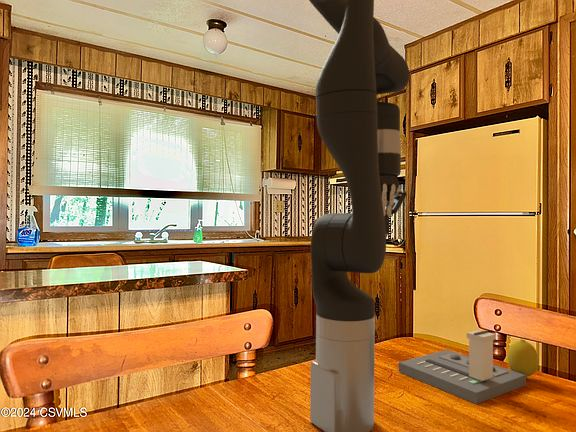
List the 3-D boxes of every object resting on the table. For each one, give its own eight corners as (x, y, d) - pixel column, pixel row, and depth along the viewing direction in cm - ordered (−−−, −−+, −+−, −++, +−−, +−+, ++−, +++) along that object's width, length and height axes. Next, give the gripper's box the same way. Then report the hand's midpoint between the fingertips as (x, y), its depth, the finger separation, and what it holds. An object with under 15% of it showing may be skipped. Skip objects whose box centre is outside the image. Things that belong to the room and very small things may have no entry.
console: (476, 404, 74) (476, 389, 74) (398, 371, 89) (398, 359, 89) (525, 385, 83) (525, 371, 83) (447, 358, 98) (447, 347, 98)
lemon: (545, 383, 84) (544, 342, 84) (519, 385, 83) (518, 344, 83) (526, 373, 89) (525, 334, 89) (501, 374, 88) (501, 336, 88)
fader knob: (482, 382, 77) (483, 335, 77) (466, 375, 80) (466, 331, 80) (495, 377, 80) (495, 332, 80) (478, 372, 82) (479, 328, 82)
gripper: (372, 148, 84) (371, 235, 84) (417, 154, 91) (416, 234, 91) (347, 153, 90) (346, 234, 90) (391, 157, 97) (391, 233, 97)
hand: (382, 234), depth 91 cm, fingers closed
